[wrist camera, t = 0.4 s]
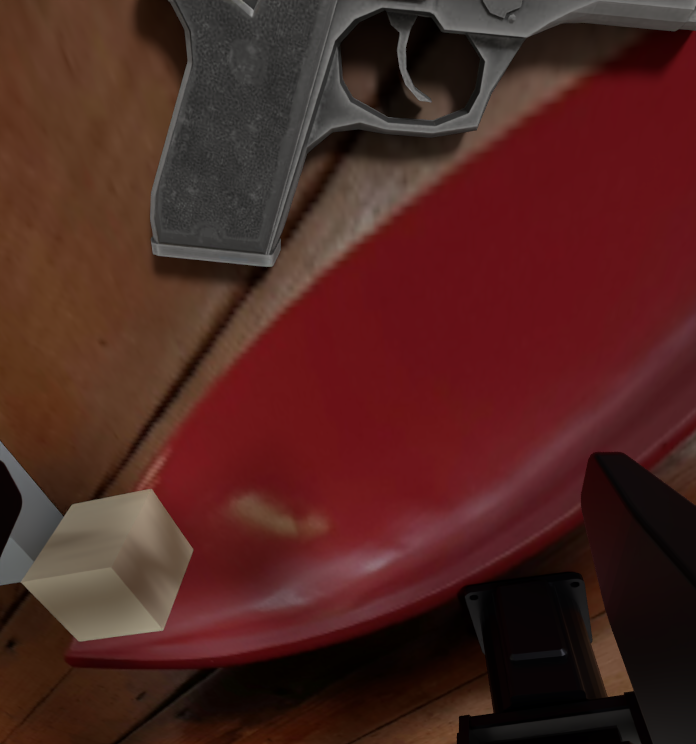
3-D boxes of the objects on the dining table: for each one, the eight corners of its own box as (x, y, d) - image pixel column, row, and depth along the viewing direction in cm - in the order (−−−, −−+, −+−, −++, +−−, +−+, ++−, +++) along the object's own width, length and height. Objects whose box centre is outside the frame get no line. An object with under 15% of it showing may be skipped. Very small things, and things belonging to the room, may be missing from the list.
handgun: (627, 306, 19) (820, -160, 12) (145, 257, 19) (77, -227, 13) (604, 276, 21) (759, -136, 15) (169, 232, 22) (122, -194, 15)
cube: (193, 548, 31) (163, 630, 27) (119, 561, 32) (78, 641, 28) (151, 487, 29) (111, 567, 25) (72, 503, 30) (20, 582, 26)
